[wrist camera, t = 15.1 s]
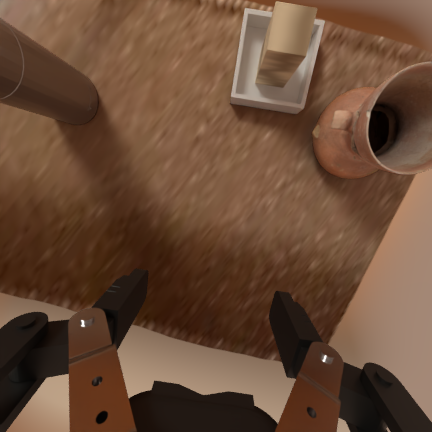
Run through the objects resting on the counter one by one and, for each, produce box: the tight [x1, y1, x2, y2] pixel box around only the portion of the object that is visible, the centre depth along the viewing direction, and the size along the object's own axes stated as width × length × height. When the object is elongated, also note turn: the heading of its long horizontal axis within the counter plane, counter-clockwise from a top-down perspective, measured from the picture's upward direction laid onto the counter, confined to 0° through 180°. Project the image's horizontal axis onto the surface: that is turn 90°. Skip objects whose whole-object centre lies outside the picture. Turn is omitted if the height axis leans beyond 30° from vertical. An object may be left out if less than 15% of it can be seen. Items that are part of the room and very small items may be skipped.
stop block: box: [255, 1, 317, 88], centre depth 29 cm, size 5×5×10 cm
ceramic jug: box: [312, 62, 432, 179], centre depth 30 cm, size 18×14×14 cm
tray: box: [230, 8, 325, 114], centre depth 33 cm, size 12×12×4 cm
